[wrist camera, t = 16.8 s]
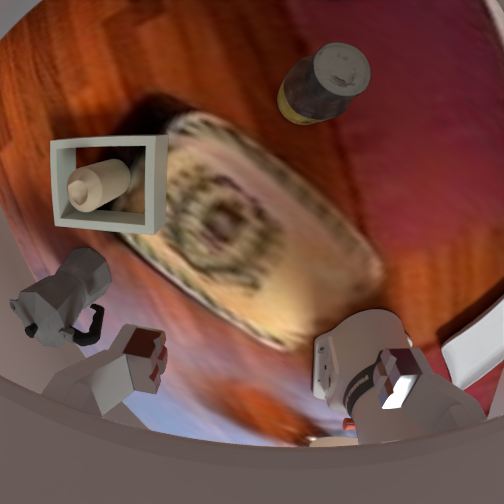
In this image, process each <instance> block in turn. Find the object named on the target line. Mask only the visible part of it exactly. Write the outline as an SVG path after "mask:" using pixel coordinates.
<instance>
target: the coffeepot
mask: <svg viewBox="0 0 504 504" xmlns="http://www.w3.org/2000/svg"><path fill="white" fill-rule="evenodd" d="M111 282H112V279H111V274H110V270H109V267H108V265H107V263H106V260H105V259H104V258H103V257H102V256H101V255H100V254H99V253H97V252H96V251H94V250H92V249H91V248H79V249H73V250H72V252H71V253H70V254H69V256H68V257H67V258H66V259H65V261H64V262H63V263H62V264H61V266H60V267H59V268H58V270H57V272H56V273H55V275H53V276H48V277H46V278H44V279H42V280H40V281H39V282H37V283H35V284H33V285H32V286H30V287H28V288H26V289H24V290H22V291H21V292H20V293H19V298H18V299H17V300H12V299H10V300H9V301H10V306H11V308H12V309H13V310H14V312H15V313H16V314H17V315H18V316H19V317H20V318H21V320H22V322H23V324H24V326H25V332H26V334H27V335H28V336H29V337H30V338H33V337H35V338H36V339H37V340H38V341H39V342H40V343H42V344H43V345H44V346H50V347H57V348H62V346H63V344H64V342H65V340H67V341H69V342H71V343H73V342H75V343H76V344H78V345H80V346H87V345H91V344H95V343H97V342H98V340H99V339H100V336H101V328H102V322H103V316H104V308H103V307H102V306H100V305H97V304H91V303H93V302H94V301H96V300H97V299H98V298H100V297H101V296H103V295H104V294H105V292H106V290H107V289H108V287H109V285H110V283H111ZM90 304H91V306H90V308H92V309H94V310H96V313H95V314H94V315H93V322H92V324H91V326H90V328H89V332H88V333H82V332H81V331H79V330H77V329H76V328H74V327H73V325H74V323H75V322H76V320H77V318H78V316H79V314H80V312H81V310H82V309H84V308H86V307H87V306H89V305H90Z"/></svg>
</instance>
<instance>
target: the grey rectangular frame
mask: <svg viewBox="0 0 504 504" xmlns="http://www.w3.org/2000/svg"><path fill="white" fill-rule="evenodd" d="M168 137H169V135H109V136H90V137H75V138H66V139H59V140H53V141H50V160H51V186H52V200H53V212H54V221H55V226H62V227H73V228H84V229H94V230H105V231H116V232H126V233H137V234H147V235H155V234H156V233H157V232H158V231H159V230H160V229H161V228H162V227H163V226H164V225H165V224H166V182H167V155H168ZM97 146H146V159H145V213H133V212H119V211H104V210H93V211H90V212H81V211H79V210H77V209H76V208H75V207H74V206H73V205H72V204H71V203H70V201H69V199H68V196H67V181H68V178H69V176H70V175H71V173H72V172H73V171H74V170H76V147H97Z"/></svg>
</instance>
